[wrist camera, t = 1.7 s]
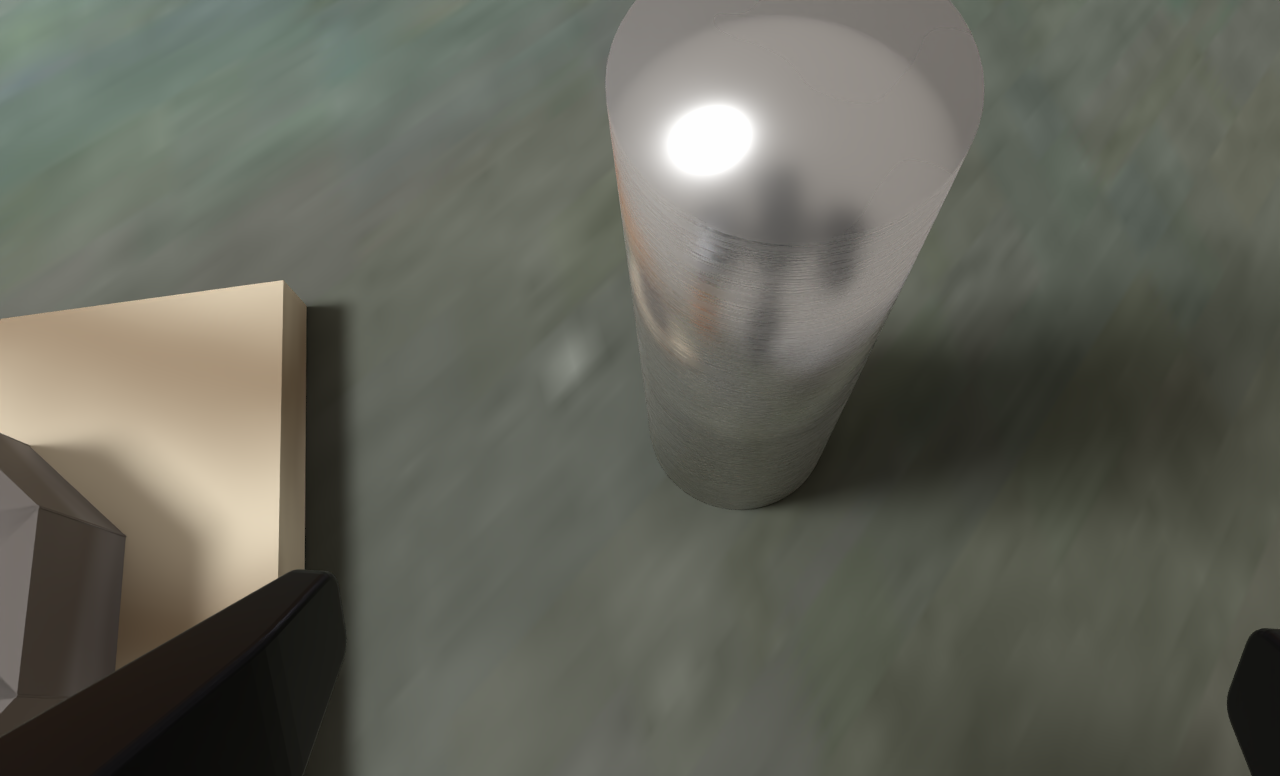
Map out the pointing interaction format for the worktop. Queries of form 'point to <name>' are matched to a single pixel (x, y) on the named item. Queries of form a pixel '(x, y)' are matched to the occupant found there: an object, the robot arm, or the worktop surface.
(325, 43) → the worktop surface
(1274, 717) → the robot arm
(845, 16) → the pin
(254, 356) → the socket board
